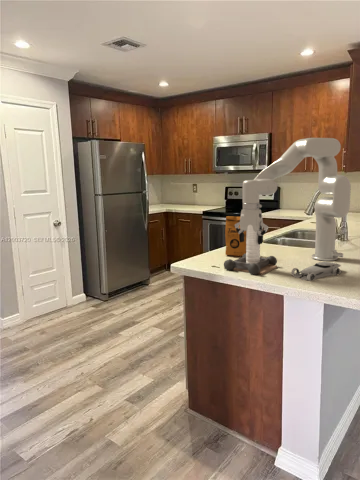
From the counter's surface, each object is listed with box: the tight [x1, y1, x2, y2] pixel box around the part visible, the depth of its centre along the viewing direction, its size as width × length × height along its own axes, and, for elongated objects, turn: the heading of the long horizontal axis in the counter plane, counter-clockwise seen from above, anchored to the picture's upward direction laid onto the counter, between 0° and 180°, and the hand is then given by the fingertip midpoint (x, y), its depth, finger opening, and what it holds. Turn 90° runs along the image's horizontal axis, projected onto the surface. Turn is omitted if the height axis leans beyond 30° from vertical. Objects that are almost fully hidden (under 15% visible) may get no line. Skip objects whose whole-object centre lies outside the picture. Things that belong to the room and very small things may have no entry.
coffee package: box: [224, 215, 246, 257], centre depth 195 cm, size 10×12×22 cm
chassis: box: [223, 253, 278, 276], centre depth 168 cm, size 20×19×5 cm
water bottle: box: [240, 213, 261, 264], centre depth 167 cm, size 9×6×25 cm
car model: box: [290, 261, 342, 282], centre depth 155 cm, size 11×24×5 cm, turn 118°
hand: (251, 242), depth 167 cm, fingers open, 9 cm apart
